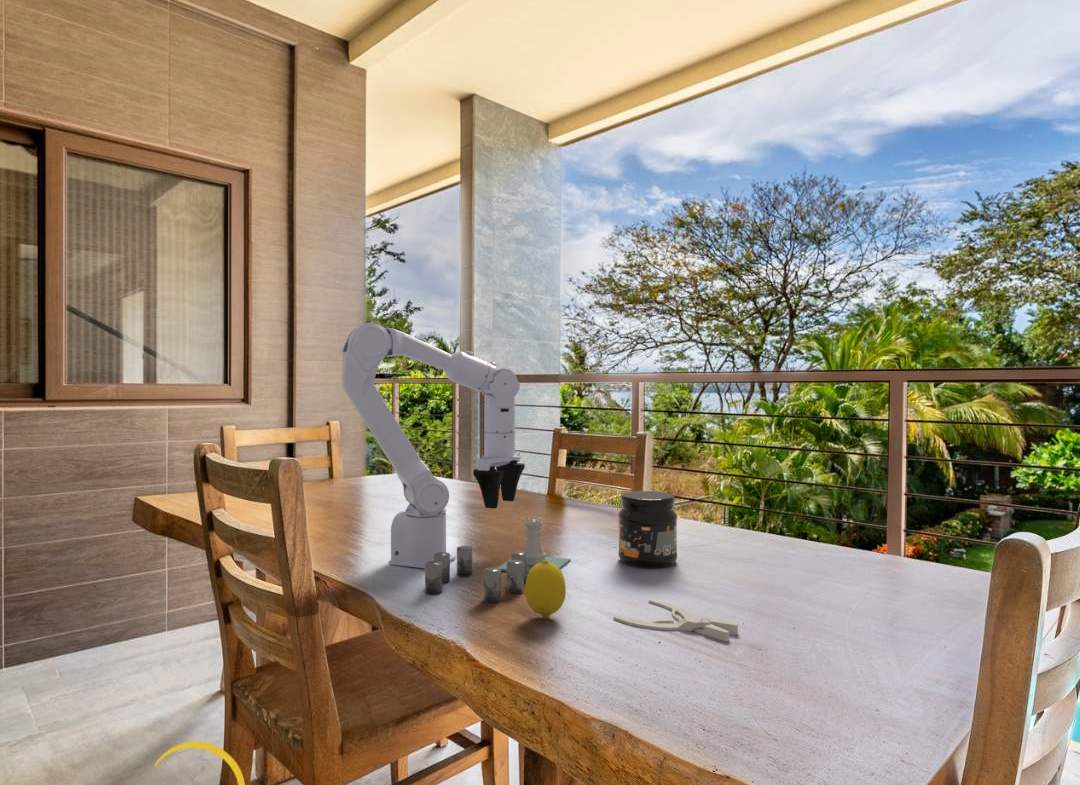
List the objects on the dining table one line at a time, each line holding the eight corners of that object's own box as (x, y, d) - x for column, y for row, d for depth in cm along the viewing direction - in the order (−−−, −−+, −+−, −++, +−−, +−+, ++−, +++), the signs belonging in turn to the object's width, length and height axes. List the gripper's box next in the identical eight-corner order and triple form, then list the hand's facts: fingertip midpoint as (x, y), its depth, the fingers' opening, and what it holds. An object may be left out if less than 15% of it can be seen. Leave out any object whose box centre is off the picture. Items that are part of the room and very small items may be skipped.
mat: (496, 570, 110) (496, 568, 110) (519, 556, 120) (519, 553, 120) (550, 576, 107) (550, 574, 107) (570, 561, 116) (570, 559, 116)
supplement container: (608, 556, 119) (608, 492, 119) (659, 551, 122) (659, 489, 122) (634, 572, 109) (634, 501, 109) (688, 566, 112) (688, 498, 112)
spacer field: (413, 592, 99) (413, 563, 99) (454, 570, 110) (453, 544, 110) (505, 605, 93) (505, 574, 93) (538, 580, 105) (538, 552, 105)
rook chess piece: (551, 562, 114) (551, 517, 114) (537, 568, 110) (537, 521, 110) (530, 558, 116) (530, 514, 116) (516, 564, 113) (516, 519, 112)
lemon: (562, 627, 84) (561, 566, 84) (521, 624, 86) (520, 564, 86) (568, 612, 90) (568, 555, 90) (530, 609, 91) (529, 553, 91)
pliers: (651, 593, 94) (749, 617, 85) (651, 603, 94) (749, 629, 85) (612, 610, 87) (715, 639, 77) (612, 622, 87) (715, 652, 77)
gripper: (502, 435, 113) (503, 512, 113) (533, 430, 126) (534, 499, 126) (467, 434, 115) (467, 510, 115) (501, 429, 129) (501, 496, 129)
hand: (500, 504), depth 121 cm, fingers open, 7 cm apart
